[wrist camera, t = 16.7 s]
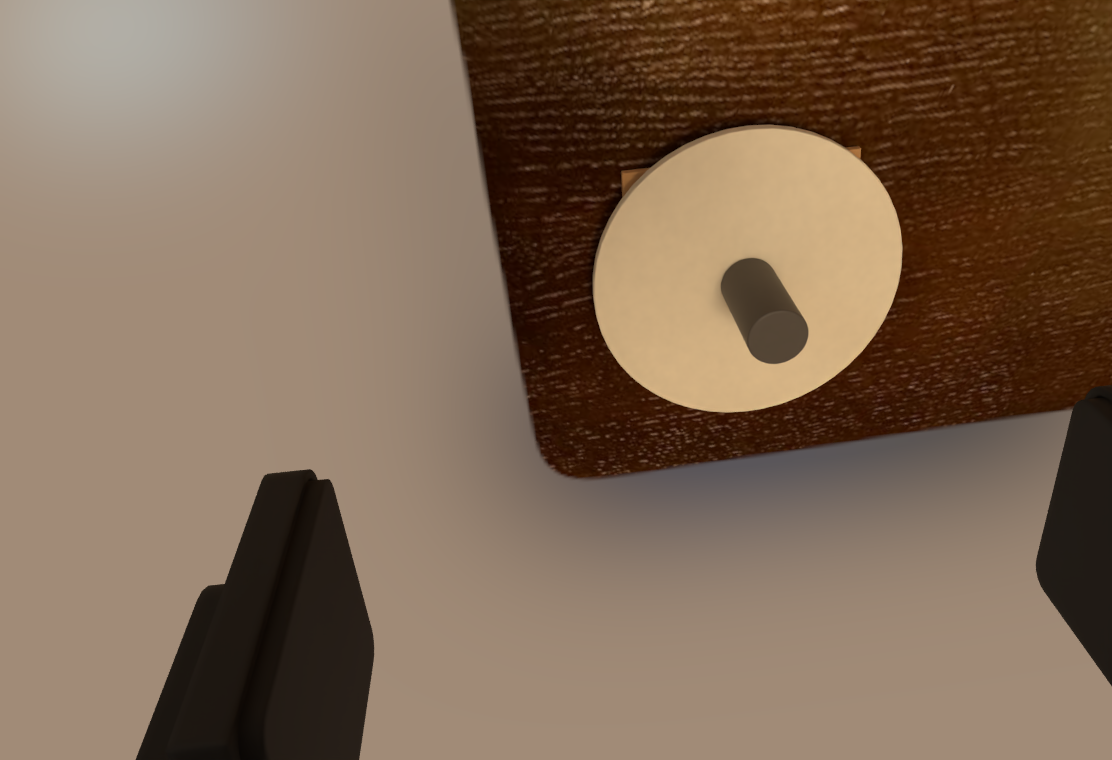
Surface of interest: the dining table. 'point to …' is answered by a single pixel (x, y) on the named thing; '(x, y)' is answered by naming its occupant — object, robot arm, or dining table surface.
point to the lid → (747, 268)
